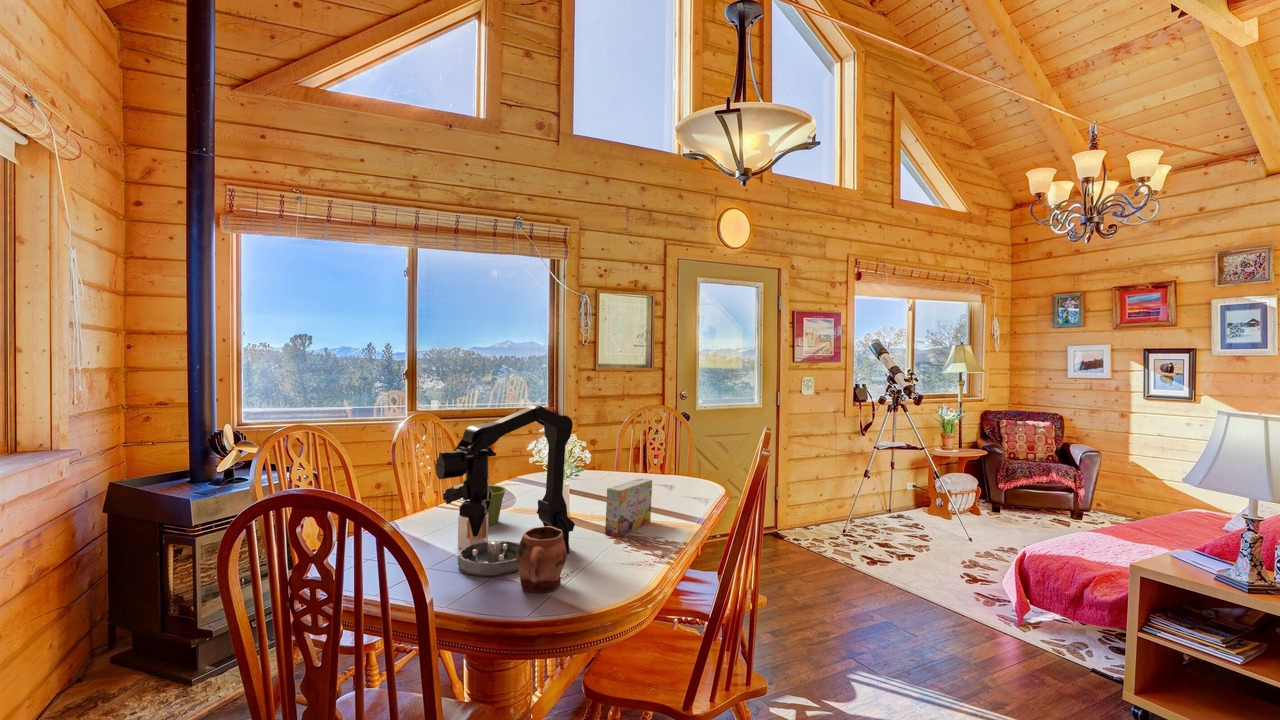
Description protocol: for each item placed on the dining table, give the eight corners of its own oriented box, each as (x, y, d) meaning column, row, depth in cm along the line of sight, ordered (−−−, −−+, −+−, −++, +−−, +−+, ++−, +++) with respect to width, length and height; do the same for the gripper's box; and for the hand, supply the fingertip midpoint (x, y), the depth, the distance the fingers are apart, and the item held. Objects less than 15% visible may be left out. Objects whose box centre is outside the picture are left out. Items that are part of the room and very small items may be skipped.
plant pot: (479, 529, 191) (480, 495, 191) (463, 521, 200) (463, 488, 200) (512, 523, 199) (513, 490, 199) (494, 515, 208) (495, 483, 208)
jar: (462, 552, 170) (462, 510, 169) (453, 544, 176) (454, 504, 176) (492, 547, 174) (493, 506, 174) (483, 539, 181) (484, 500, 181)
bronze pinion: (487, 533, 159) (487, 515, 159) (484, 539, 154) (485, 520, 154) (468, 534, 158) (468, 515, 158) (465, 540, 153) (465, 521, 153)
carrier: (529, 552, 170) (530, 532, 170) (524, 576, 153) (525, 553, 152) (465, 553, 168) (465, 532, 168) (452, 577, 150) (453, 554, 150)
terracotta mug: (562, 606, 135) (563, 546, 135) (508, 606, 135) (509, 545, 134) (568, 574, 155) (570, 521, 155) (522, 573, 154) (523, 520, 154)
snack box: (619, 538, 186) (620, 490, 186) (604, 535, 189) (605, 487, 189) (651, 522, 205) (653, 478, 204) (637, 519, 207) (638, 476, 207)
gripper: (451, 467, 164) (451, 523, 164) (438, 482, 146) (437, 545, 146) (493, 466, 166) (492, 522, 166) (484, 482, 147) (484, 544, 147)
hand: (476, 533), depth 156 cm, fingers closed on bronze pinion, 5 cm apart
